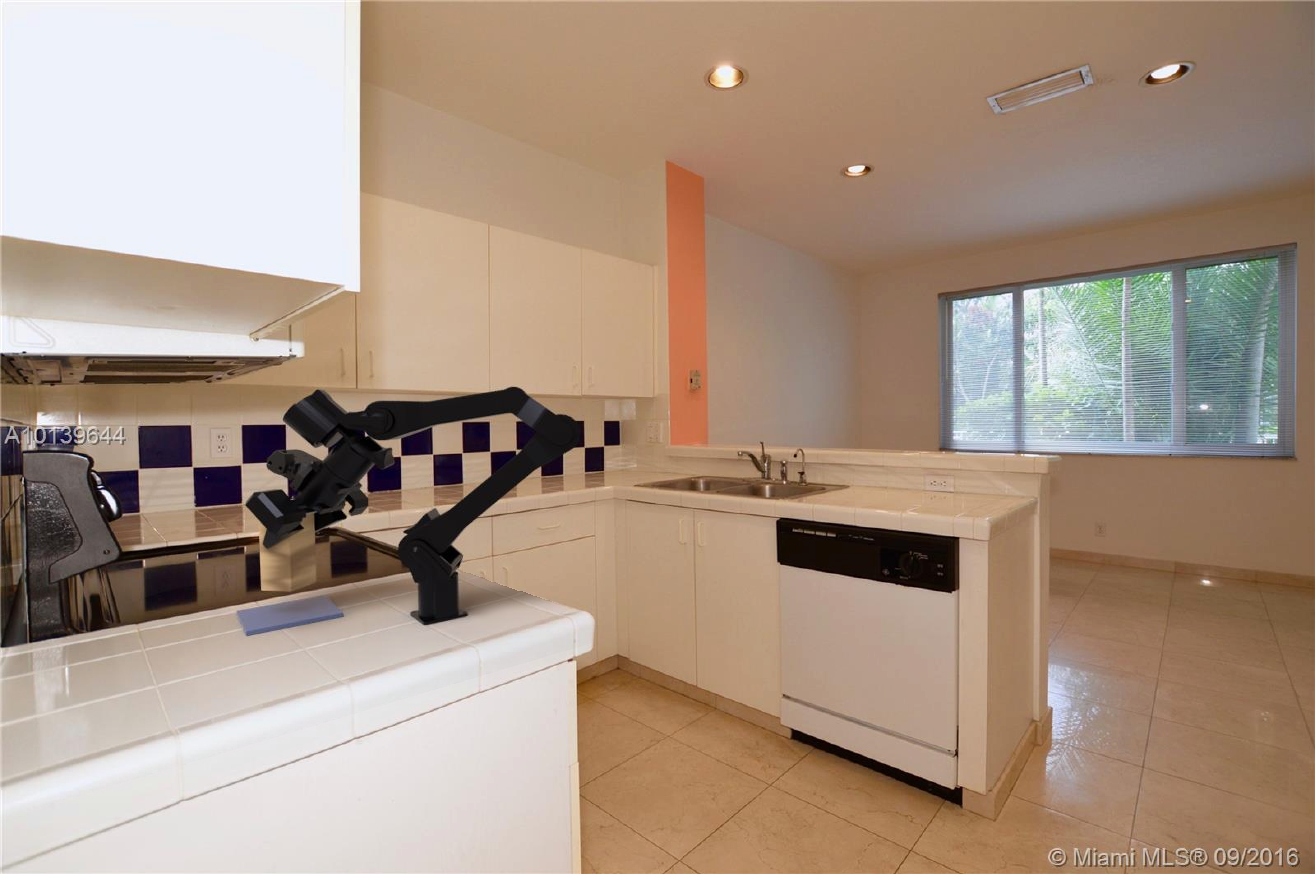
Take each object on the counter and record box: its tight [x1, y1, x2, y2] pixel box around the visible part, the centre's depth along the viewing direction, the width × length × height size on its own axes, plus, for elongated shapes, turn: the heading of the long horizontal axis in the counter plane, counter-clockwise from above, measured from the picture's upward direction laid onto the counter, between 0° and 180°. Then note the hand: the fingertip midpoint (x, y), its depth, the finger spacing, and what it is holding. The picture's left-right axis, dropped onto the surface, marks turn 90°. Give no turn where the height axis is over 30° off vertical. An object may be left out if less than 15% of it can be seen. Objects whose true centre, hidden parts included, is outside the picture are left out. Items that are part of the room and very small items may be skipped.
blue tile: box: [236, 594, 344, 636], centre depth 90 cm, size 12×12×1 cm
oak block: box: [258, 513, 317, 592], centre depth 90 cm, size 5×5×12 cm
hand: (279, 542), depth 90 cm, fingers closed on oak block, 5 cm apart
